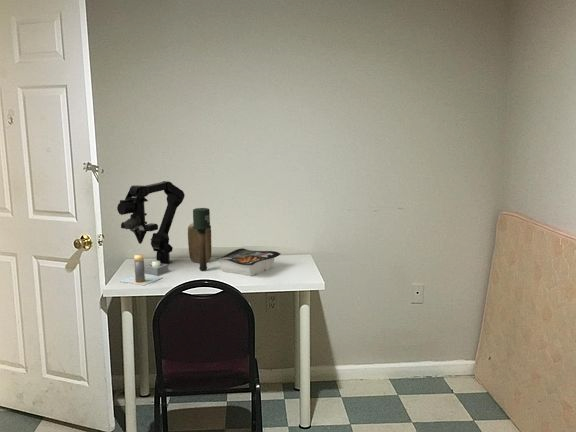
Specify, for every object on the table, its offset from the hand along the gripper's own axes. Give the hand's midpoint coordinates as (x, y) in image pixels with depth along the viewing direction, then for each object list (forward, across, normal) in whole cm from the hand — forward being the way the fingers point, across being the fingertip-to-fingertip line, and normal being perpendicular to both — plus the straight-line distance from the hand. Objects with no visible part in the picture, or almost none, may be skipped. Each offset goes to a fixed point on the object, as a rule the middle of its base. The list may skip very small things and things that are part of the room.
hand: (140, 243), depth 289 cm
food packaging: (+14, +46, +23) cm, 54 cm away
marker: (+13, +14, -17) cm, 25 cm away
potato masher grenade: (+13, +28, +12) cm, 33 cm away
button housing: (+13, +10, -1) cm, 16 cm away
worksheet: (+13, +12, -14) cm, 23 cm away
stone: (+13, +17, +25) cm, 33 cm away
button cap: (+13, +10, -1) cm, 16 cm away
